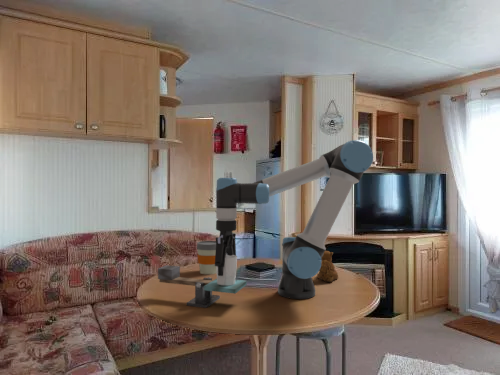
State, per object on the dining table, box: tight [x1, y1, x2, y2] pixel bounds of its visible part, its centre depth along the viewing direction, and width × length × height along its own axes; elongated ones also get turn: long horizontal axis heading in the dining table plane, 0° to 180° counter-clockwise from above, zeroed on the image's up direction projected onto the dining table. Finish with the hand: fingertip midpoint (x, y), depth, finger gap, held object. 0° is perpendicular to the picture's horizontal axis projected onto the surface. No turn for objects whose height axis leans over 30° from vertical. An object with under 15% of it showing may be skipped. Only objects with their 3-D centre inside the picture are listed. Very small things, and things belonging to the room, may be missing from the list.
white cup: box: [215, 254, 238, 286], centre depth 132 cm, size 8×8×10 cm
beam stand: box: [186, 276, 221, 309], centre depth 134 cm, size 8×12×8 cm, turn 161°
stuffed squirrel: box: [316, 250, 339, 283], centre depth 168 cm, size 10×14×13 cm
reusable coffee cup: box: [196, 240, 217, 275], centre depth 181 cm, size 13×13×15 cm
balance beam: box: [157, 264, 248, 294], centre depth 135 cm, size 33×12×6 cm, turn 71°
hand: (225, 281), depth 132 cm, fingers closed on white cup, 7 cm apart
